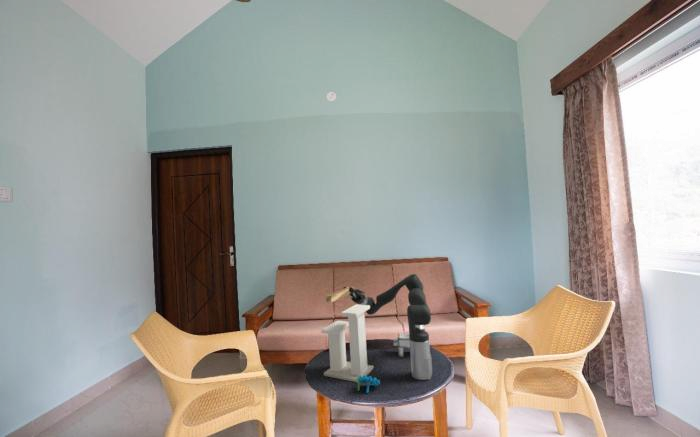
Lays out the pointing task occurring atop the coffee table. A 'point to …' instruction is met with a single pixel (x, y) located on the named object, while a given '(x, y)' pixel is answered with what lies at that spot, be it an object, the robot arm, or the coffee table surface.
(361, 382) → the blue legged figure
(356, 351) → the two-step rack
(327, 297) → the wooden slat
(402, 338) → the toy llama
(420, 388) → the coffee table surface
